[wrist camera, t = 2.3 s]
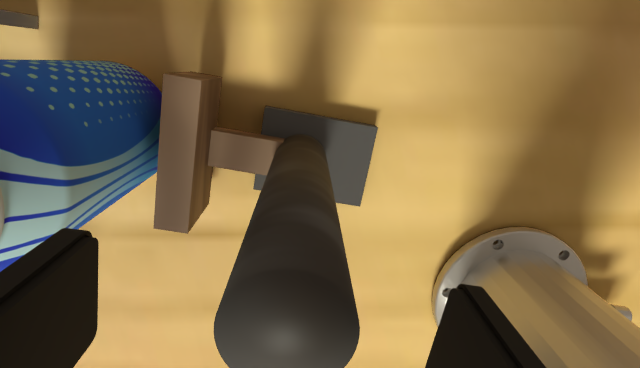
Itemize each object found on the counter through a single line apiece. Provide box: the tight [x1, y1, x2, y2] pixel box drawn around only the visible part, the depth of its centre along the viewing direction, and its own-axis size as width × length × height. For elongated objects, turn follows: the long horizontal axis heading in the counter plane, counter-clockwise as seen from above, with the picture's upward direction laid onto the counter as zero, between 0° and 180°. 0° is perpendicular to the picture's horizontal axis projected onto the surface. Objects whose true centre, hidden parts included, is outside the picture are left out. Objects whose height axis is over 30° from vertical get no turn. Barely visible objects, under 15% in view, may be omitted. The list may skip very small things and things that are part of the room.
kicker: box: [154, 72, 360, 368], centre depth 18 cm, size 10×9×19 cm
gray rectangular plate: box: [254, 106, 378, 206], centre depth 28 cm, size 8×6×1 cm
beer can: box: [0, 60, 162, 272], centre depth 20 cm, size 8×8×16 cm
